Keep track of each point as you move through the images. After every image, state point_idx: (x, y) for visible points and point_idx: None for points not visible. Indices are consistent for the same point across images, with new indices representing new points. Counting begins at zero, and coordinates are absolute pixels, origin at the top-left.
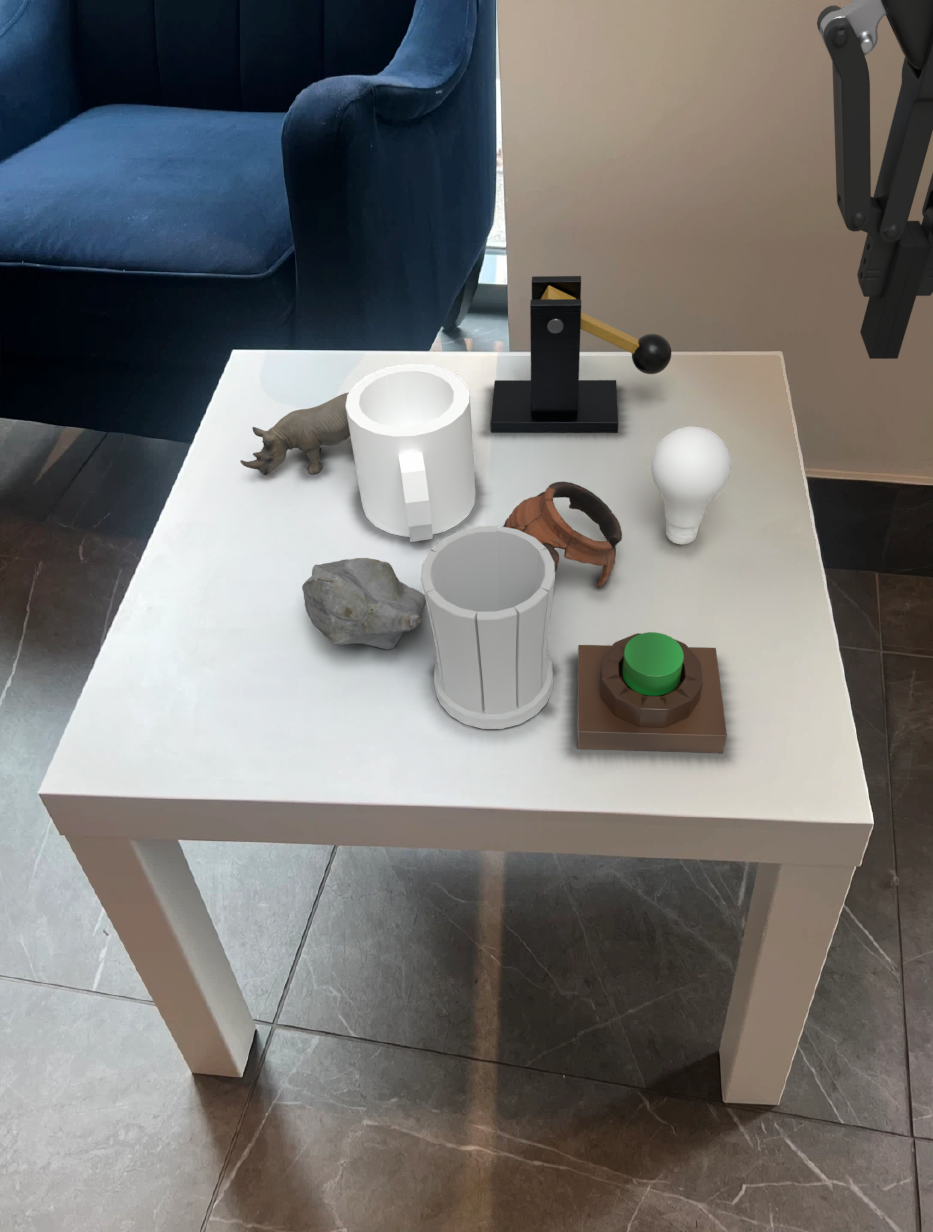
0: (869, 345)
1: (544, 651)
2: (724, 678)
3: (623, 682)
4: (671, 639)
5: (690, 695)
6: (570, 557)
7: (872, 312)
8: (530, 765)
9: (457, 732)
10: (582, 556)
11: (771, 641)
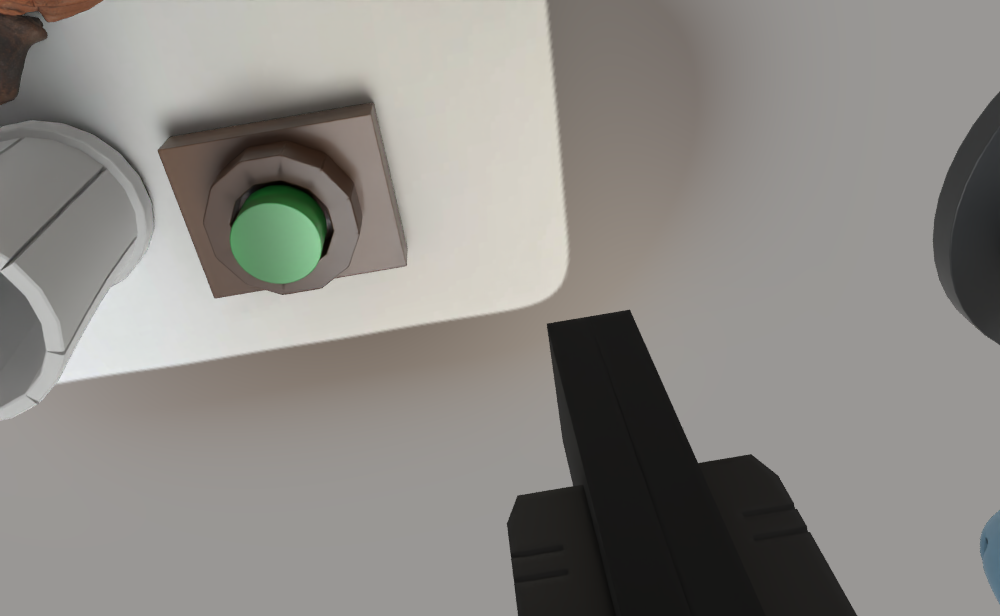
0: (563, 432)
1: (111, 261)
2: (394, 123)
3: None
4: (295, 212)
5: (346, 260)
6: (58, 19)
7: (570, 443)
8: (172, 313)
9: None
10: (80, 5)
11: (459, 31)
